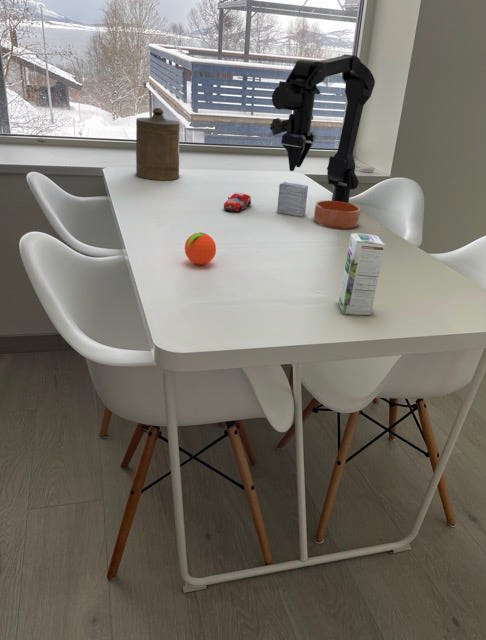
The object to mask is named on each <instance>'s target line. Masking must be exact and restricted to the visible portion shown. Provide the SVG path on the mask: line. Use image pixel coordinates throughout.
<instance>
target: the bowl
mask: <svg viewBox="0 0 486 640" xmlns="http://www.w3.org/2000/svg"><path fill="white" fill-rule="evenodd" d="M350 203H351V202H349V203H346V202H340V201H332V200H319V201H317V202H315V204H314V213H313V221H315V223H316V224H318V225H320V226H322V227H326V228H331V229H336V230H337V229H339V230H349V229H354V228H355V227H357V226H358V225H359V223H360V217H361V208H360V206H358V205H356V204H353V203H351V204H350Z"/></svg>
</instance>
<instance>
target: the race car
mask: <svg viewBox="0 0 486 640" xmlns="http://www.w3.org/2000/svg"><path fill="white" fill-rule="evenodd" d="M251 203H252V197H251V195H249V194H247V193H241V192H234V193H233V194H231V195H230V196H228V197H227V200H226V201H224V203H223V210H225V211H234V212H237V213H241V212H242V210H244V209H246V208H250V206H251Z"/></svg>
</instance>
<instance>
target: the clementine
mask: <svg viewBox="0 0 486 640" xmlns="http://www.w3.org/2000/svg"><path fill="white" fill-rule="evenodd" d="M216 252H217V247H216V242H215V240H214V239H213V238H212V237H211V236H210V234H207V233H205V232H202V231H201V232H195V233H193V234H191V235H190V236H189V237H188V238H187V239H186V241H185V244H184V253H185V255H186V258H187V259H188V260H189V261H190V262H191V263H193V264H195V265H201V266H202V265H207V264H209V263H210V262H211V261H212V260H213V259H214V258H215V256H216Z"/></svg>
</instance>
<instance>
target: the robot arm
mask: <svg viewBox="0 0 486 640" xmlns="http://www.w3.org/2000/svg"><path fill="white" fill-rule="evenodd" d="M339 74H341V79H342V80H343V82H344V84H345V88H344V94H345V97H346V101H347V104H346V108H345V114H344V119H343V123H342V128H341V132H340V138H339V141H338V147H337V151H336V152H335V153H334V155H333V156H332V155H330V157H329V159H328V164H327V168H326V170H327V172H326V173H327V174H326V175H327V183H328V185H331V186H333V189H332V195H331V201H340V202H346V203H350V204H352V203H351V202H350V196H351V190H356V189H357V188H358V186H359V184H360V183H359V182H360V181H359V179H358V177H357V175H356V172H355V170H356V169H355V168H356V161H355V157H354V150H355V147H356V141H357V136H358V133H359V128H360V123H361V118H362V114H363V109H364V106H365V104H366V103H367V102H368V101H369V100H370V98H371V97H372V93H373V91H374V88H375V84H376V80H375V77H374V74H373V73H372V71H371V70H370V69H369V68H368V67H367V66H366V65H365V64H364V63H363V62H362V61H361V59H360V57H358V56H357V55H354V54H345V53H344V54H342V55H340V56H335V57H331V58H326V59H322V60H311V59H298V60H297V61H295V65H294V66H293V68H292V70H291V71H290V73H289V75H288V77H287V78H286V80H285V81H282V80H280V81H279V83H278V86H277V87H276V88H275V89H273V92H272V94H271V102H272V105H273V107H274V108H275V110H276V109H277V110H279V111H280V110H281V111H282V110H283V111H291V113H290V114H289V115H288V119H284V120H281V118H280V117H277V118H273V119H272V122H271V123H270V124H269V125H270V126H269V129H270V131H271V134H272V136H276V135H280V134H281V133H284V134H283V135H281V140H280V143H281V144H282V147H283V148H284V149H285V150H286V151H287V157H288V158H287V159H288V168H289V172H294V171H295V169H296V168H301V166H302V164H303V162H304V161H305V159H306V157H307V155H308V153H309V151H310V150H311V148H312V146H313V145H314V142H315V140H316V134H315V132H314V131H313V130H311V127H312V121H314V115H313V113H314V104H315V97H316V95H321V91H320V89H319V88H318V86H317V85H318V84H321V83H322V82H324V81H325V79H326V78H327V77H331V76H335V75H339Z"/></svg>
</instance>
